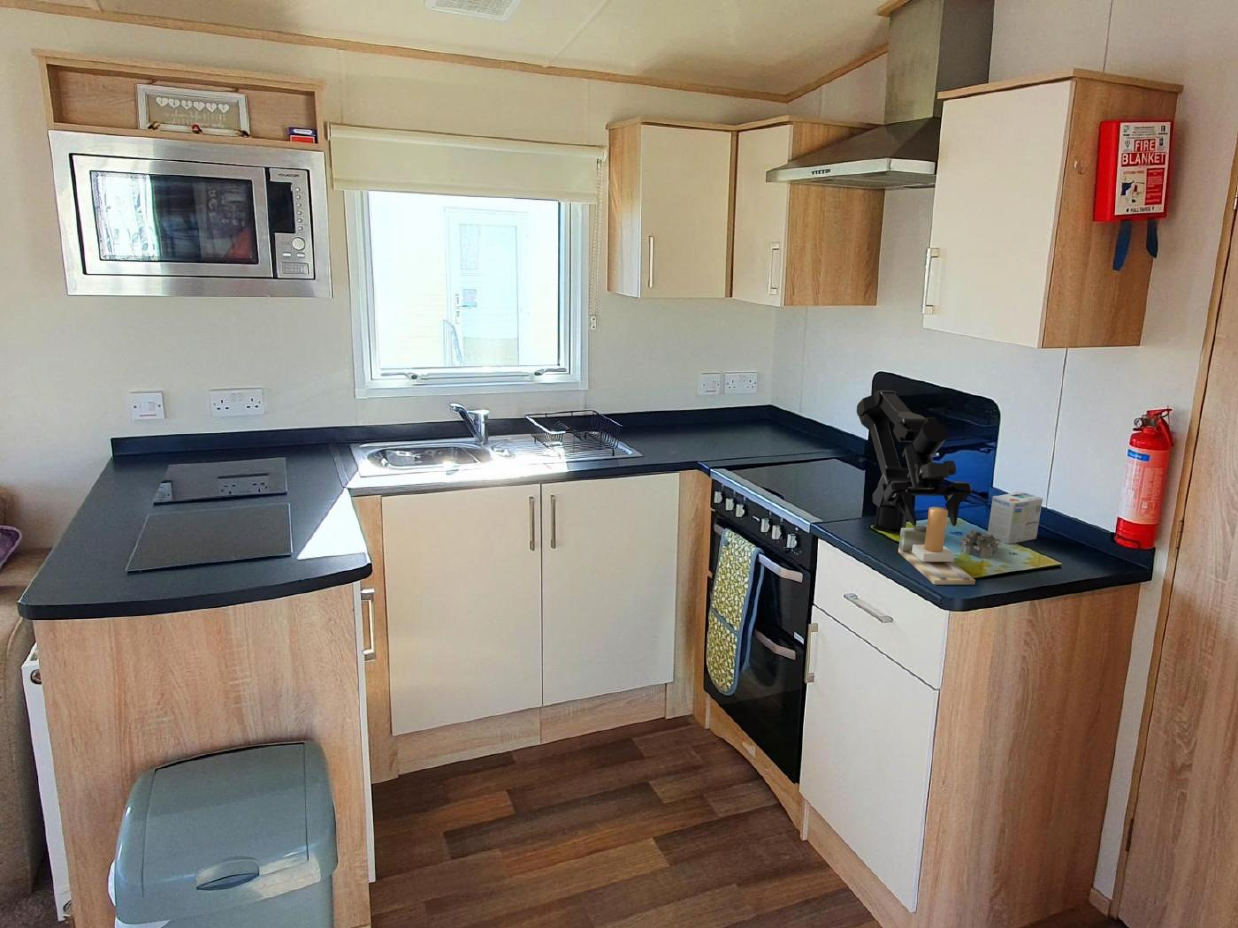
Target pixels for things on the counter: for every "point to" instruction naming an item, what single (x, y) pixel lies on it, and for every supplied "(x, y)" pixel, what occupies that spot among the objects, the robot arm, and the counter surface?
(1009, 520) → the light bulb box
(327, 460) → the counter surface
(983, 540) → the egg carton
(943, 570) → the rail board
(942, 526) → the rubber stamp
